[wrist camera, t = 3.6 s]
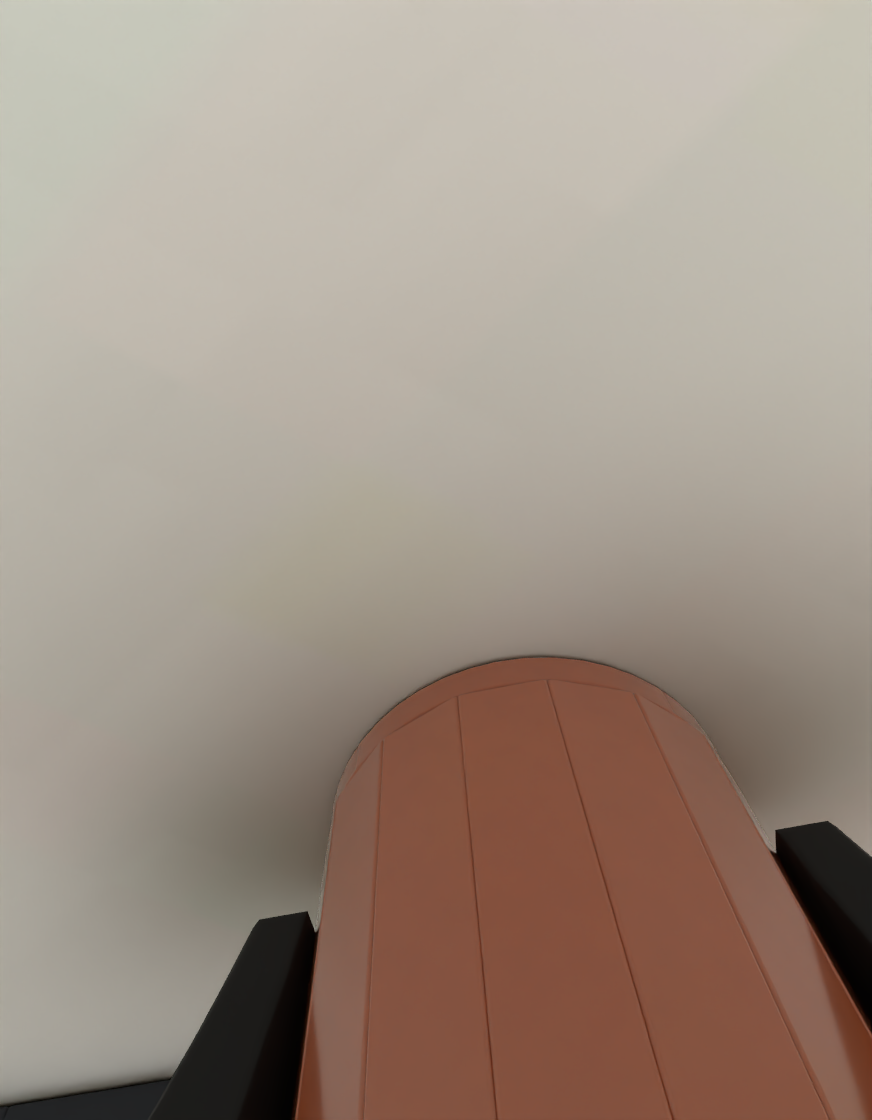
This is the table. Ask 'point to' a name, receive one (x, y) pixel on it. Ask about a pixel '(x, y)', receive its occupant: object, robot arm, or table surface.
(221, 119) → the table surface
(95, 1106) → the drain mat
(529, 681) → the cup
